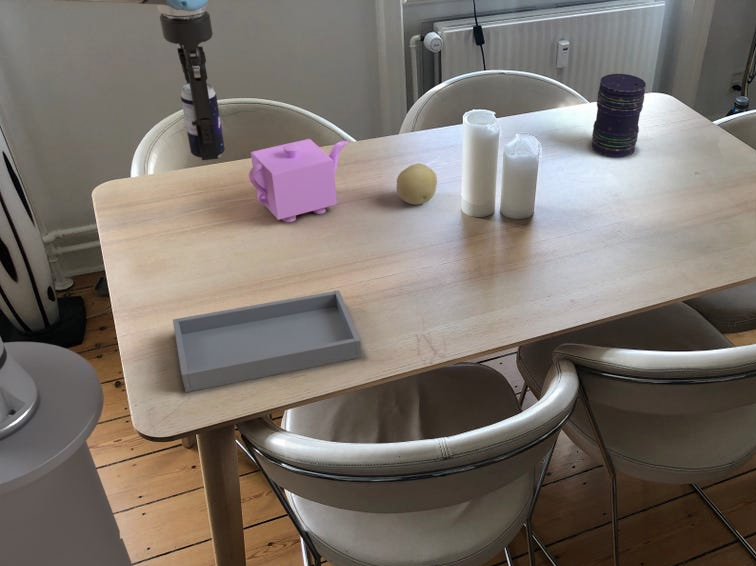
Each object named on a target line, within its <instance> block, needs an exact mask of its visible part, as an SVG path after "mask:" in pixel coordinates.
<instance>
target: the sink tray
mask: <svg viewBox="0 0 756 566" xmlns="http://www.w3.org/2000/svg"><path fill="white" fill-rule="evenodd" d="M172 323H173V324H172V325H173V331H174V336H175V342H176V343H175V344H176V349H177V354H178V356H177V357H178V362H179V368H180V374H181V375H180V376H181V379H182V383H183V388H184V391H185V393H192V392H195V391H200V390H205V389H206V390H207V389H211V388H215V387H220V386H226V385H230V384H236V383H241V382H245V381H250V380H255V379H256V380H257V379H261V378H266V377H270V376H275V375H280V374H287V373H291V372H295V371H300V370H306V369H311V368H314V367H315V368H316V367H320V366H326V365H330V364H336V363H340V362H344V361H345V362H346V361H351V360H355V359H360V358H362V344H361V338H360V336H359V334H358V331H357V329H356V327H355V324H354V321H353V319H352V317H351V315H350V312H349V310H348V308H347V305H346V303H345V300H344V297H343V296H342V294H341V291H340V290H334V291H328V292H322V293H321V292H320V293H316V294H311V295H305V296H299V297H294V298H288V299H282V300H276V301H272V302H265V303H258V304H254V305H253V304H252V305H249V306H242V307H237V308H231V309H224V310H219V311H213V312H207V313H202V314H196V315H195V314H194V315H190V316H184V317H179V318H173V319H172Z"/></svg>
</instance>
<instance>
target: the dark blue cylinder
mask: <svg viewBox="0 0 756 566" xmlns="http://www.w3.org/2000/svg"><path fill="white" fill-rule="evenodd" d="M646 87H647V83H646V81H645V80H644V79H642V78H640V77H638V76H635V75H632V74H627V73H610V74H606V75H604V76H602V77H601V78H600V79H599V87H598V88H599V89H598V91H597V100H596V107H597V110H596V117H595V120H594V123H593V129H592V135H591V136H592V137H591V138H592V142H591V146H590V147H591V149H592V151H593V152H595V153H596V154H597V155H600V156H602V157H607V158H612V159H623V158H628V157H630V156H632V155H633V154H635V150H636V144H637V141H638V138H639V132H640V127H639V121H640V116H641V113H642V111H643V108H644V105H643V104H644V102H645V93H646Z"/></svg>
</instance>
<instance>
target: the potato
mask: <svg viewBox="0 0 756 566" xmlns="http://www.w3.org/2000/svg"><path fill="white" fill-rule="evenodd" d="M437 185H438V177H437V174H436V172H435V171H434V169H432V168H430V167H429V166H427V165H426V164H423V163H414V164H411V165H409V166H408V167H406V168H404V169H403V170H402V171H401V172H400V173H399V174H398V175H397V178H396V188H395V189H396V192H397V194H398V196H399V197H400V199H401V200H403V201H404V202H406V203H408V204H410V205H421V204H425V203H427V202H429V201H430V200H431V199H433V198H434V196H435V194H436V190H437Z"/></svg>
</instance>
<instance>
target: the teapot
mask: <svg viewBox="0 0 756 566" xmlns="http://www.w3.org/2000/svg"><path fill="white" fill-rule="evenodd" d="M349 143H350V140H342V141H338V142H336V143H335V144H334V145H333V146H332V148H331V150H330V153H329V155H328V154H327V153H326V152H325V151H324V150H323V149H322V148H321V147H320V146H318V145H317V144H316V143H315V142H314V141H313V140H312V139H311V138H307V139H302V140H298V141H294V142H288V143H285V144H280V145H275V146H272V147H266V148H262V149H259V150H254V151H251V152H250V157H251V164H252V168H251V169H250V171H249V172H248V179H249V182H250V183H251V185H252V186H253V187H254V188H255V191H256V200H257V202H258V203H259V204H260V205H264V207H266V208H267V209H268V210H269V211H270V213H271V214H272V215H273V216H274V217H275V218H276V219H277V220H278V221H280V220H282V221H283V222H285V223H293V222H295V221H296V219H297V216H298V215H302V214H306V213H309V212H312V213H313V214H316V215H321V214H324V213H326V212H327V209H326V208H329V207H332V206H337V205H338V199H337V187H336V174H337V170H338V165H339V159H340V158H339V157H340V154H341V151H342V150H343V149H344V147H345V146H347V145H348V144H349Z"/></svg>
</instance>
